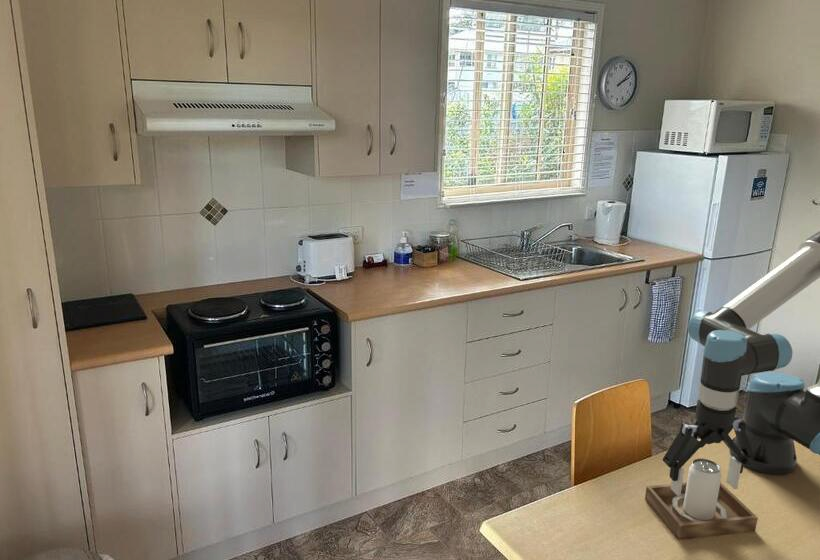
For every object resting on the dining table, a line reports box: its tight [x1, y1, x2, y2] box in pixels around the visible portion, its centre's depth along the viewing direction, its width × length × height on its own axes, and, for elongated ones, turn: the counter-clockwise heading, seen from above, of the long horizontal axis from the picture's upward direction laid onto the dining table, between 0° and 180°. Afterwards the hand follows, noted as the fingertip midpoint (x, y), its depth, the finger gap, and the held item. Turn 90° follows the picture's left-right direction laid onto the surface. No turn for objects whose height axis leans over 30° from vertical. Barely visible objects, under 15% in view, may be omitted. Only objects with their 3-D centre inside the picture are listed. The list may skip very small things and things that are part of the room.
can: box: [683, 458, 722, 521], centre depth 141 cm, size 6×6×12 cm
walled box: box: [644, 482, 759, 541], centre depth 142 cm, size 18×14×4 cm
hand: (703, 488), depth 141 cm, fingers open, 13 cm apart
